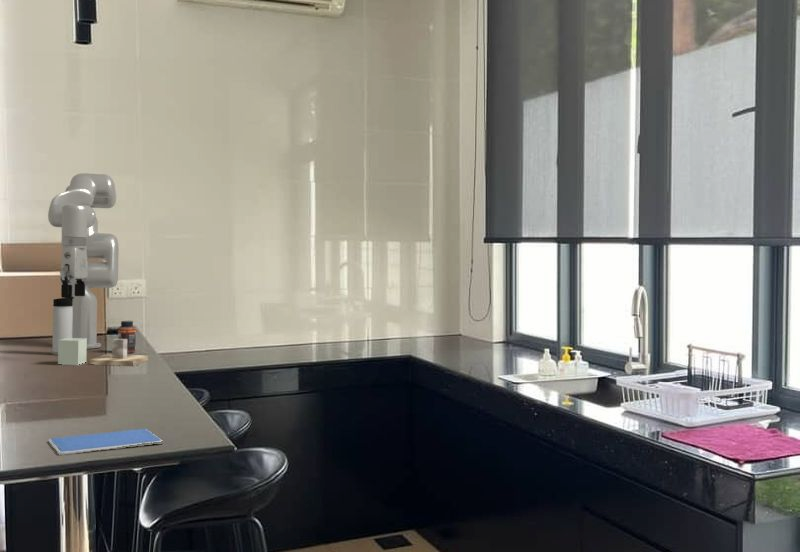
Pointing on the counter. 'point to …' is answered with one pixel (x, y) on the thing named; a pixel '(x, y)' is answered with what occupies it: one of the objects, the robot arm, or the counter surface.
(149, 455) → the counter surface
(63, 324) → the travel mug
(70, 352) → the pale green block
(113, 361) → the post board
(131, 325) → the supplement bottle
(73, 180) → the robot arm
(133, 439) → the tablet computer
